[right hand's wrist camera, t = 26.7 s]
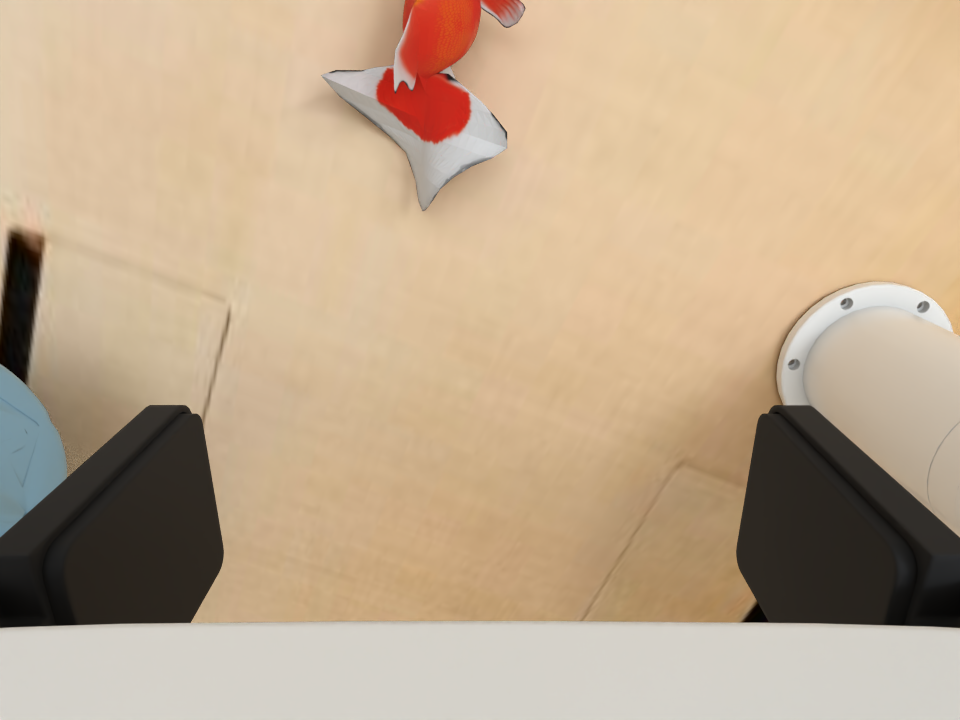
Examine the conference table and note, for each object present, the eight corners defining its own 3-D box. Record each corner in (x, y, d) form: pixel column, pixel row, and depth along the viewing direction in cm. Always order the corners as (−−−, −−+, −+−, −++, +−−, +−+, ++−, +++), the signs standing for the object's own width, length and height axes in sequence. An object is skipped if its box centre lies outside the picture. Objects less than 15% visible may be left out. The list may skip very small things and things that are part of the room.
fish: (609, -12, 36) (532, 11, 29) (499, 207, 47) (423, 263, 40) (457, -113, 38) (347, -114, 30) (383, 124, 48) (290, 164, 41)
